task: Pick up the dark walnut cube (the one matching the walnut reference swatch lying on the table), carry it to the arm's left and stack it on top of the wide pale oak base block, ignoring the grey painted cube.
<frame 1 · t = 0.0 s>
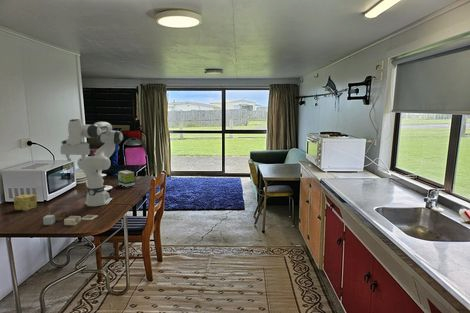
hand: (75, 161, 209), 39 cm above the table, tool pointing down, fingers open, 8 cm apart
candlestick: (98, 191, 277), on the table
walnut cube: (59, 219, 203), on the table
tea box: (126, 186, 299), on the table
cheese: (26, 208, 225), on the table
grey cube: (49, 223, 195), on the table
oak base block: (72, 223, 195), on the table
reference swatch: (89, 217, 206), on the table
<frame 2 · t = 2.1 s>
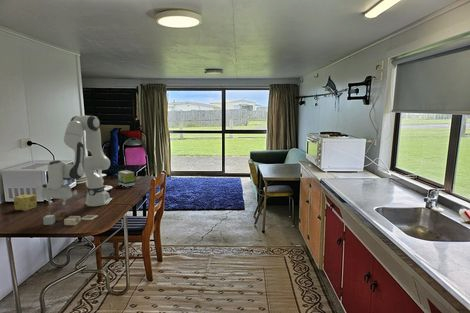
hand: (57, 204, 201), 11 cm above the table, tool pointing down, fingers open, 8 cm apart
nothing on the table moved.
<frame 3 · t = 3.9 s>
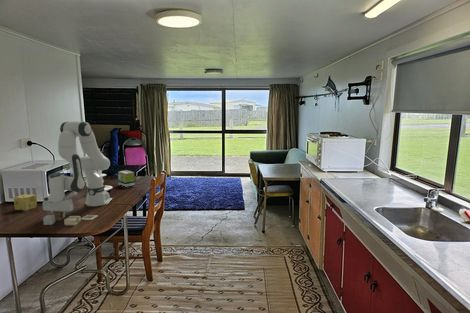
hand: (59, 216, 202), 2 cm above the table, tool pointing down, fingers closed on walnut cube, 5 cm apart
walnut cube: (59, 219, 203), on the table, touching gripper
everything else where it was.
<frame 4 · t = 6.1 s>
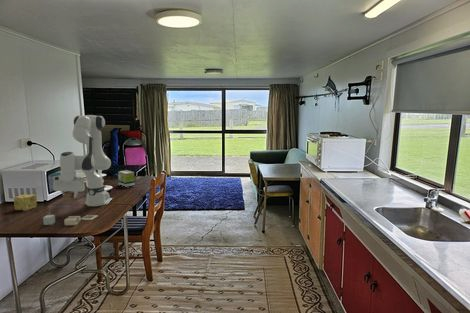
hand: (69, 197, 193), 18 cm above the table, tool pointing down, fingers closed on walnut cube, 5 cm apart
walnut cube: (69, 199, 193), point 16 cm above the table, touching gripper
everything else where it was.
when the fingers open (7 cm above the table, at t = 8.2 s): walnut cube drops 2 cm, point 4 cm above the table.
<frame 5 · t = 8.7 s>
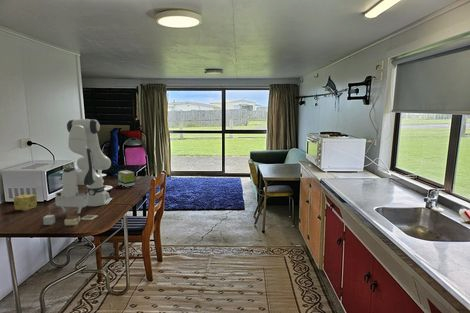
hand: (72, 212, 195), 7 cm above the table, tool pointing down, fingers open, 8 cm apart
walnut cube: (72, 217, 195), point 4 cm above the table
everything else where it was.
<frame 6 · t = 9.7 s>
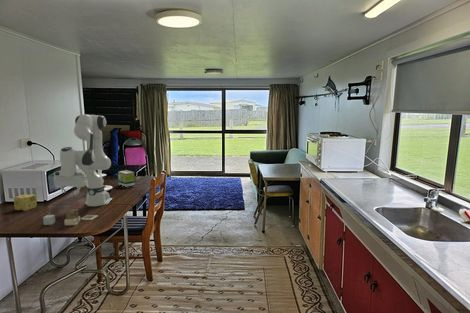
hand: (70, 192, 193), 21 cm above the table, tool pointing down, fingers open, 8 cm apart
walnut cube: (72, 217, 195), point 4 cm above the table, touching oak base block
oak base block: (72, 223, 195), on the table, touching walnut cube
everything else where it was.
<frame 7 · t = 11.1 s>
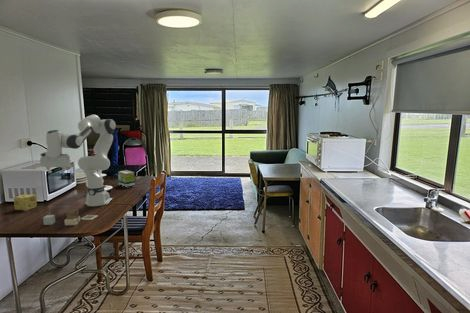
hand: (56, 173, 205), 31 cm above the table, tool pointing down, fingers open, 8 cm apart
walnut cube: (72, 217, 195), point 4 cm above the table
oak base block: (72, 223, 196), on the table
everything else where it was.
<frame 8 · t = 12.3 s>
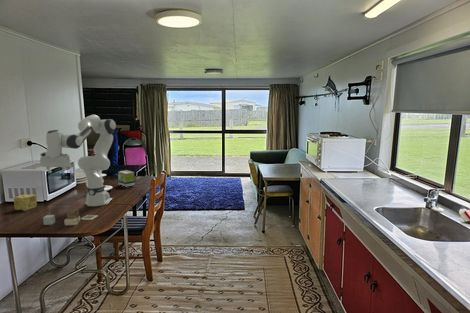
hand: (56, 173, 205), 31 cm above the table, tool pointing down, fingers open, 8 cm apart
walnut cube: (73, 217, 196), point 4 cm above the table, touching oak base block
oak base block: (72, 223, 195), on the table, touching walnut cube
everything else where it was.
at the end: walnut cube 0.7 cm off-centre on the oak base block, point 4.0 cm above the oak base block's base; walnut cube tilted 0°; the gripper is holding nothing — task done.
